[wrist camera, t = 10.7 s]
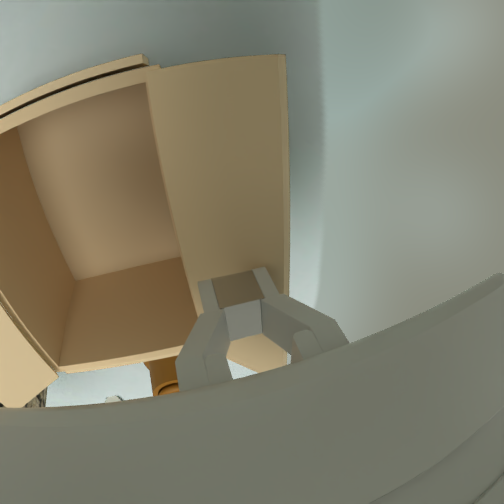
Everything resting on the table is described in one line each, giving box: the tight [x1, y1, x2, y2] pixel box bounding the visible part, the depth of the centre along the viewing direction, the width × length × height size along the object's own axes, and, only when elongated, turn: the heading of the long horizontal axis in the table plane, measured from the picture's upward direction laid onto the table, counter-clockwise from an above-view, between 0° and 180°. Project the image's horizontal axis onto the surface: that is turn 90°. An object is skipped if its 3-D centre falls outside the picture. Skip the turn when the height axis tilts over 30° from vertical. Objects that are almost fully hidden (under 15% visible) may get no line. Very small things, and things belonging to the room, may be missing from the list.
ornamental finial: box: [144, 355, 180, 396], centre depth 30 cm, size 8×8×8 cm
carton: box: [0, 54, 199, 374], centre depth 17 cm, size 17×12×10 cm
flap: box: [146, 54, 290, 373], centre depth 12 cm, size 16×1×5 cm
